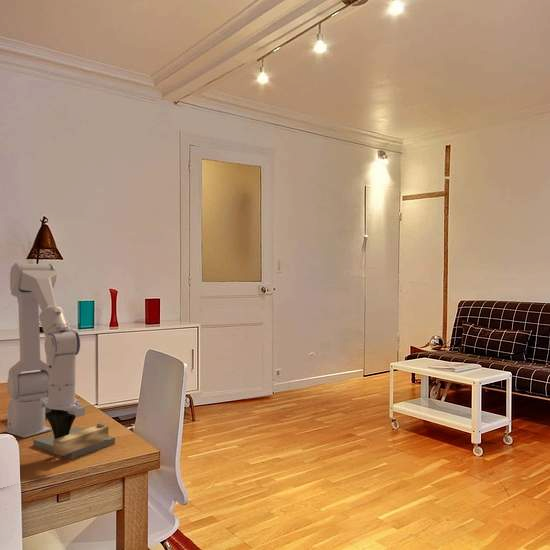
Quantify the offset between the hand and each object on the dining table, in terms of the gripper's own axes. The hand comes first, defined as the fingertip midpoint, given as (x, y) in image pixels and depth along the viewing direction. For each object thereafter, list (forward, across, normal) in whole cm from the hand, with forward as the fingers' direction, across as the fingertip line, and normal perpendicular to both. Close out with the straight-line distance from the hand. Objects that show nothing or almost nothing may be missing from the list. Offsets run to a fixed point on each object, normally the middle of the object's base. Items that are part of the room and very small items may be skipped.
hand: (61, 442), depth 116 cm
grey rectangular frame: (+3, +3, -6) cm, 7 cm away
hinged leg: (+1, -3, -3) cm, 5 cm away
